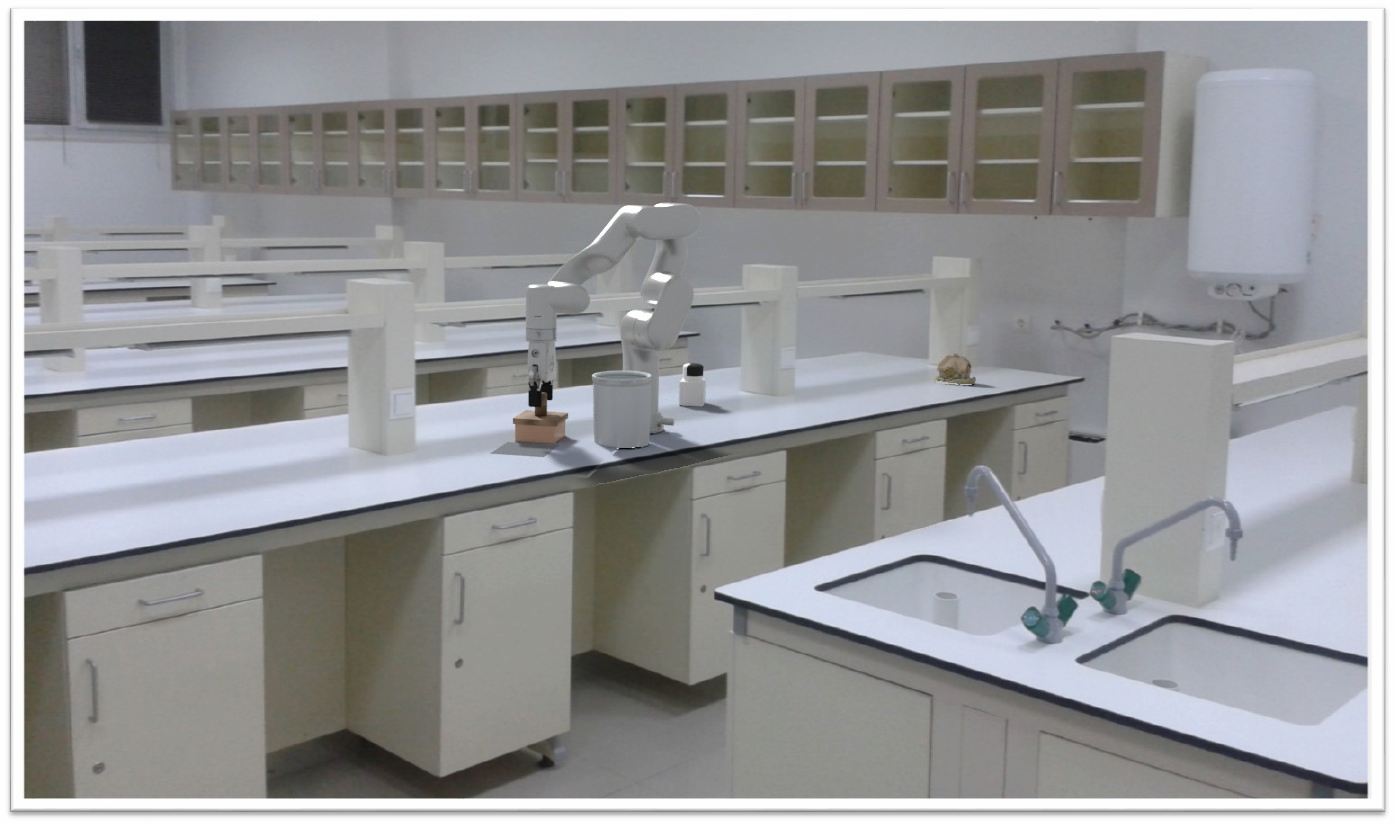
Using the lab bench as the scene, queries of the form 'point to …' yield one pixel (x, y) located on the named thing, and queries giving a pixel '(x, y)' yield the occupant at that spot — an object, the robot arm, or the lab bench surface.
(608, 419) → the utensil holder
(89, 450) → the lab bench surface
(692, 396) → the medicine bottle
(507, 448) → the mat
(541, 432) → the orange open box
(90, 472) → the lab bench surface
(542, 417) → the lid
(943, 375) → the ceramic model
